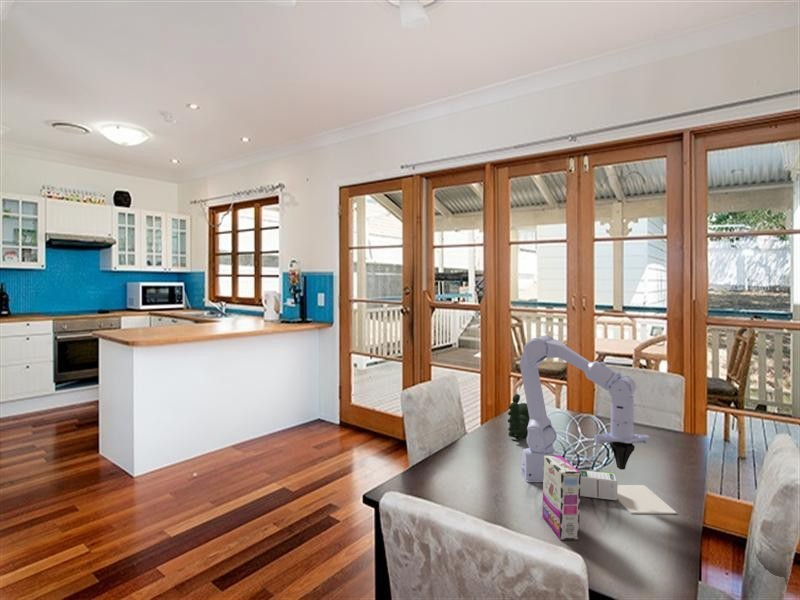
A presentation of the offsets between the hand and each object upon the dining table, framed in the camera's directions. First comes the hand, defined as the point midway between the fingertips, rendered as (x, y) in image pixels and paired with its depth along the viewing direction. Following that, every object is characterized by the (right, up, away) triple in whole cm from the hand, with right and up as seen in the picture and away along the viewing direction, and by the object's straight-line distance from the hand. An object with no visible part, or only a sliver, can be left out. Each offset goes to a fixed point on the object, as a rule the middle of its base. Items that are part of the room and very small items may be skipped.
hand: (620, 468), depth 127 cm
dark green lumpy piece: (-13, -7, +55) cm, 57 cm away
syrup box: (0, -6, +1) cm, 6 cm away
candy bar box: (-22, -10, -14) cm, 28 cm away
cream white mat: (+5, -9, 0) cm, 10 cm away
